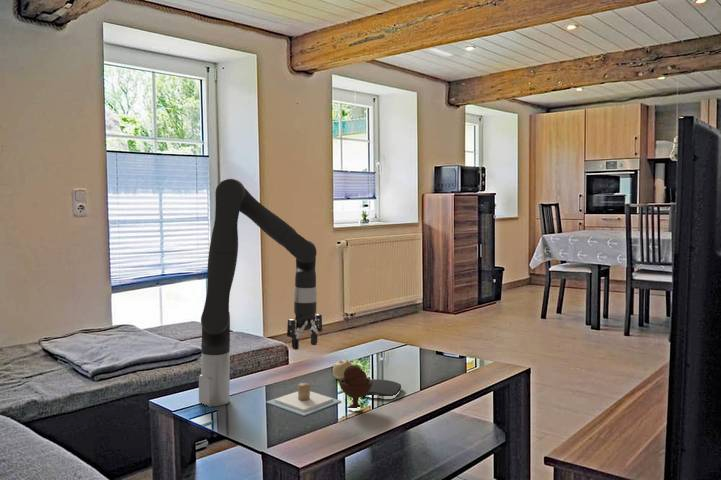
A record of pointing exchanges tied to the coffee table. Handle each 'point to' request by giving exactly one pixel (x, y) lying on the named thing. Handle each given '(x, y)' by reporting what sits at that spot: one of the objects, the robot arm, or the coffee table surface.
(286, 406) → the rubber mat
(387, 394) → the media streaming box
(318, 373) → the coffee table surface
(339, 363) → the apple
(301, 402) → the cover sheet
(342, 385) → the ice cream bowl
